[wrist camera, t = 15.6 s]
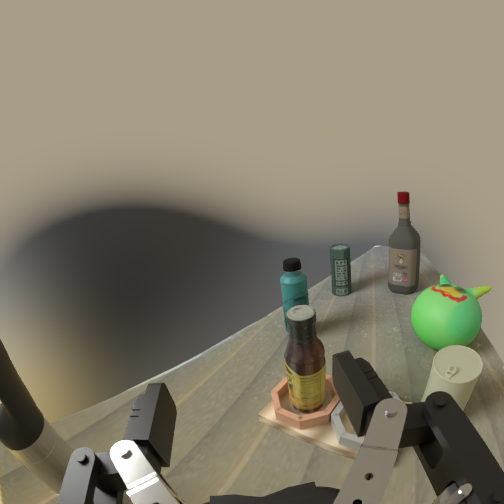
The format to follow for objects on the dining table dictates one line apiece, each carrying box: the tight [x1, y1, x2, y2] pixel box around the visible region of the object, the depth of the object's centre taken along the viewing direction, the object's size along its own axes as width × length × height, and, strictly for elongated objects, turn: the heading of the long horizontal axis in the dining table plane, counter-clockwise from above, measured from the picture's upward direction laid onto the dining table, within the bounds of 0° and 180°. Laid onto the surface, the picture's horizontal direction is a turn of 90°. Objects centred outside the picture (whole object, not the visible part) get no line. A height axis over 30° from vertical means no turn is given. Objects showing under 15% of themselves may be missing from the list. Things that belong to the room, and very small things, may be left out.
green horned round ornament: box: [411, 275, 492, 350], centre depth 48 cm, size 18×17×15 cm
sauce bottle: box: [284, 305, 326, 413], centre depth 40 cm, size 7×6×20 cm
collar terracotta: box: [271, 374, 341, 430], centre depth 43 cm, size 12×12×2 cm
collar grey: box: [331, 391, 400, 450], centre depth 35 cm, size 12×12×2 cm
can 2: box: [421, 345, 483, 411], centre depth 32 cm, size 9×9×12 cm
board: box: [258, 388, 412, 459], centre depth 40 cm, size 24×13×2 cm, turn 50°
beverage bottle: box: [280, 258, 309, 334], centre depth 66 cm, size 6×7×20 cm
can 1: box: [330, 244, 351, 296], centre depth 83 cm, size 6×6×15 cm
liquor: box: [388, 192, 420, 295], centre depth 74 cm, size 9×9×30 cm
